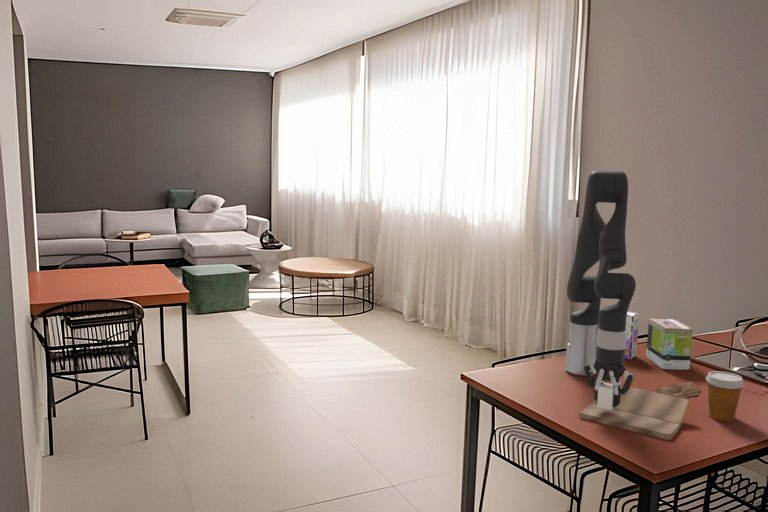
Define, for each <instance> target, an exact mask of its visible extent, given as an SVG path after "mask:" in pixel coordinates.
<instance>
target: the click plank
mask: <svg viewBox="0 0 768 512" xmlns="http://www.w3.org/2000/svg"><path fill="white" fill-rule="evenodd" d="M604 383H609V384H612V383H611V382H610V381H604ZM620 385H621V384H620ZM623 386H624V384H623V385H621V388H623ZM592 404H596V405H597V403H596V401H595V398H594V399H593V401H592ZM689 407H690V399H684V398H679V397H675V396H670V395H665V394H660V393H657V392H655V391H650V390H646V389H642V388H641V389H640V388H637V387H632V386H630V388H629V390H628V391H627V392H626V393H625V394H620V404H619V405H618V406H616V407H615V408H614V409H618V410H622V411H626V412H630V413H635V414H639V415H643V416H647V417H652V418H656V419H660V420H664V421H669V422H673V423H677V424H680V426H679V427H680V429H681V428H682V425H683V423H684V420H685V417H686V414H687V411H688V408H689Z"/></svg>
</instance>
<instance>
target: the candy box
mask: <svg viewBox="0 0 768 512" xmlns="http://www.w3.org/2000/svg"><path fill="white" fill-rule="evenodd" d="M639 318H640V313H638V312H633V311H632V312H631V311H628V312H627V317H626V330H625V333H626V346H625V359H626V360H632V359H634V358H636V357H637V353H638V352H637V351H638V337H639V321H640V319H639ZM625 359H624V360H625Z"/></svg>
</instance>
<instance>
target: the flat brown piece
mask: <svg viewBox="0 0 768 512" xmlns="http://www.w3.org/2000/svg"><path fill="white" fill-rule="evenodd" d="M656 391H657V392H656V393H660V394H665V395H670V396H675V397H679V398H684V399H689V398H691V397H693V398H694V397H697V396H699V395H700V394H699V393H702V390H700V388H699V387H698V386H697V385H695V383H694V382H692V381H686V382H680V383H675V384H669V385H665V386H663V387H658V388H657V389H656ZM689 400H690V399H689Z"/></svg>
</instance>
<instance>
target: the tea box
mask: <svg viewBox="0 0 768 512" xmlns="http://www.w3.org/2000/svg"><path fill="white" fill-rule="evenodd" d="M693 335H694V329H693V328H692V327H690V326H688V325H686V324H684V323H683V322H680V321H679V320H677V319H672V318H670V319H669V318H648V328H647V340H646V353H645V357H646V359H649V361H651V362H652V363H654V364H655V365H656V366H658V367H659V368H660V369H662V370H673V371H674V370H677V371H678V370H680V371H684V370H686V371H687V370H688V371H689V370H690V365H691V355H692V346H693Z"/></svg>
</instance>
